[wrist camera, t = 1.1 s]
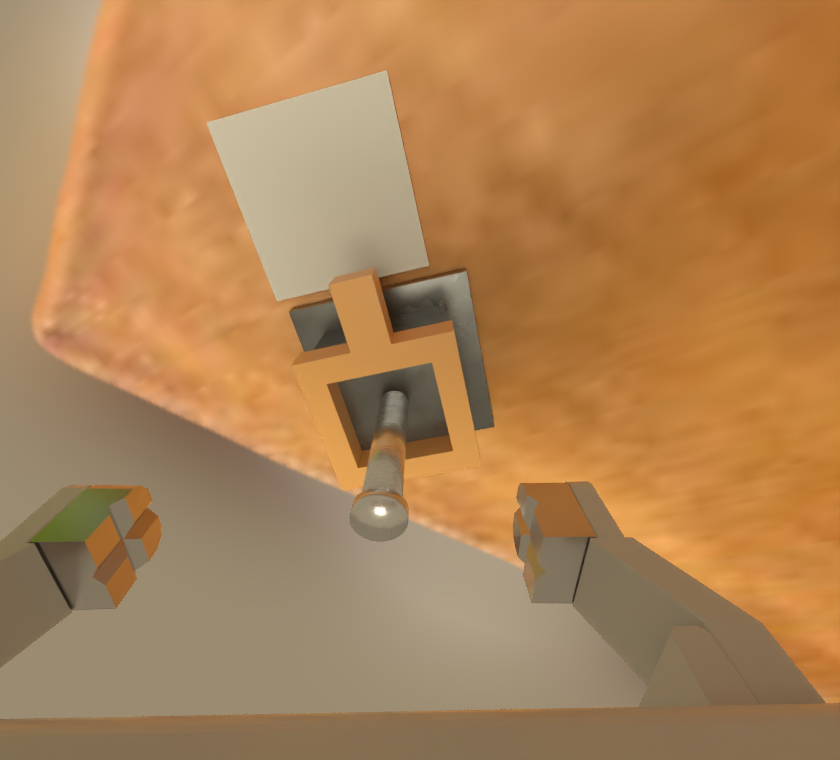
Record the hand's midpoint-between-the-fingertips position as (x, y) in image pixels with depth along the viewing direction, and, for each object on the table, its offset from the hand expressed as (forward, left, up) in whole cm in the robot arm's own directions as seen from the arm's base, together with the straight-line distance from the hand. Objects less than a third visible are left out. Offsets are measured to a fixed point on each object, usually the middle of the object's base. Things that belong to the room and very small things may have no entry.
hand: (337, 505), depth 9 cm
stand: (+3, +10, -30) cm, 31 cm away
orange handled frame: (+3, +7, -22) cm, 24 cm away
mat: (+5, -6, -30) cm, 30 cm away
